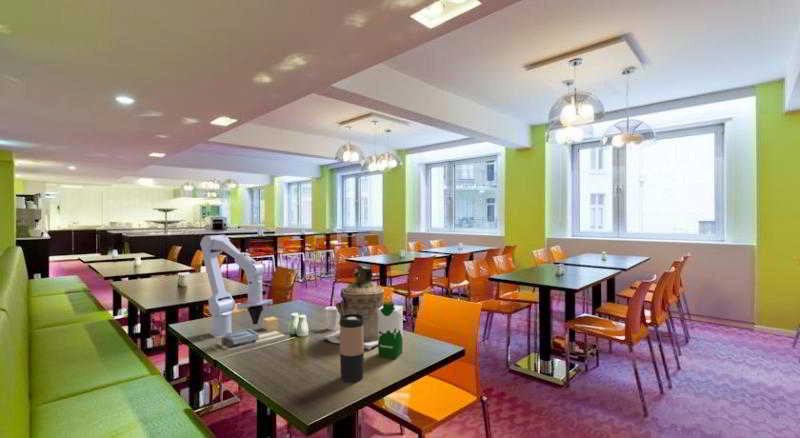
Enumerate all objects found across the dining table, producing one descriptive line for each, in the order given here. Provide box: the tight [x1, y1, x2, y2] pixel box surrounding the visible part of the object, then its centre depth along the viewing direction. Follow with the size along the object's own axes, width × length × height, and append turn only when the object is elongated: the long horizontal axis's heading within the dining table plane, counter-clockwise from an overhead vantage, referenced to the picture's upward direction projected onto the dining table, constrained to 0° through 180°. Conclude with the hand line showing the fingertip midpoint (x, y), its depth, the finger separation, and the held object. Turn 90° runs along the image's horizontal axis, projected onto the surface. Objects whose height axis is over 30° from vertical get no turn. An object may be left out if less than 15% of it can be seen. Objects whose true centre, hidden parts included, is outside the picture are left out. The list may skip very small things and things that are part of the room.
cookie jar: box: [322, 264, 385, 351], centre depth 168 cm, size 25×25×32 cm
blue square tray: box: [224, 328, 259, 347], centre depth 162 cm, size 10×10×3 cm
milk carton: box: [377, 301, 404, 360], centre depth 148 cm, size 9×9×20 cm
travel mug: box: [339, 314, 365, 384], centre depth 127 cm, size 8×8×20 cm
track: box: [216, 329, 288, 352], centre depth 165 cm, size 13×25×2 cm, turn 133°
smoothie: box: [324, 298, 339, 331], centre depth 181 cm, size 6×6×14 cm
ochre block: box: [262, 316, 279, 331], centre depth 181 cm, size 5×5×5 cm
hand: (255, 323), depth 166 cm, fingers closed
